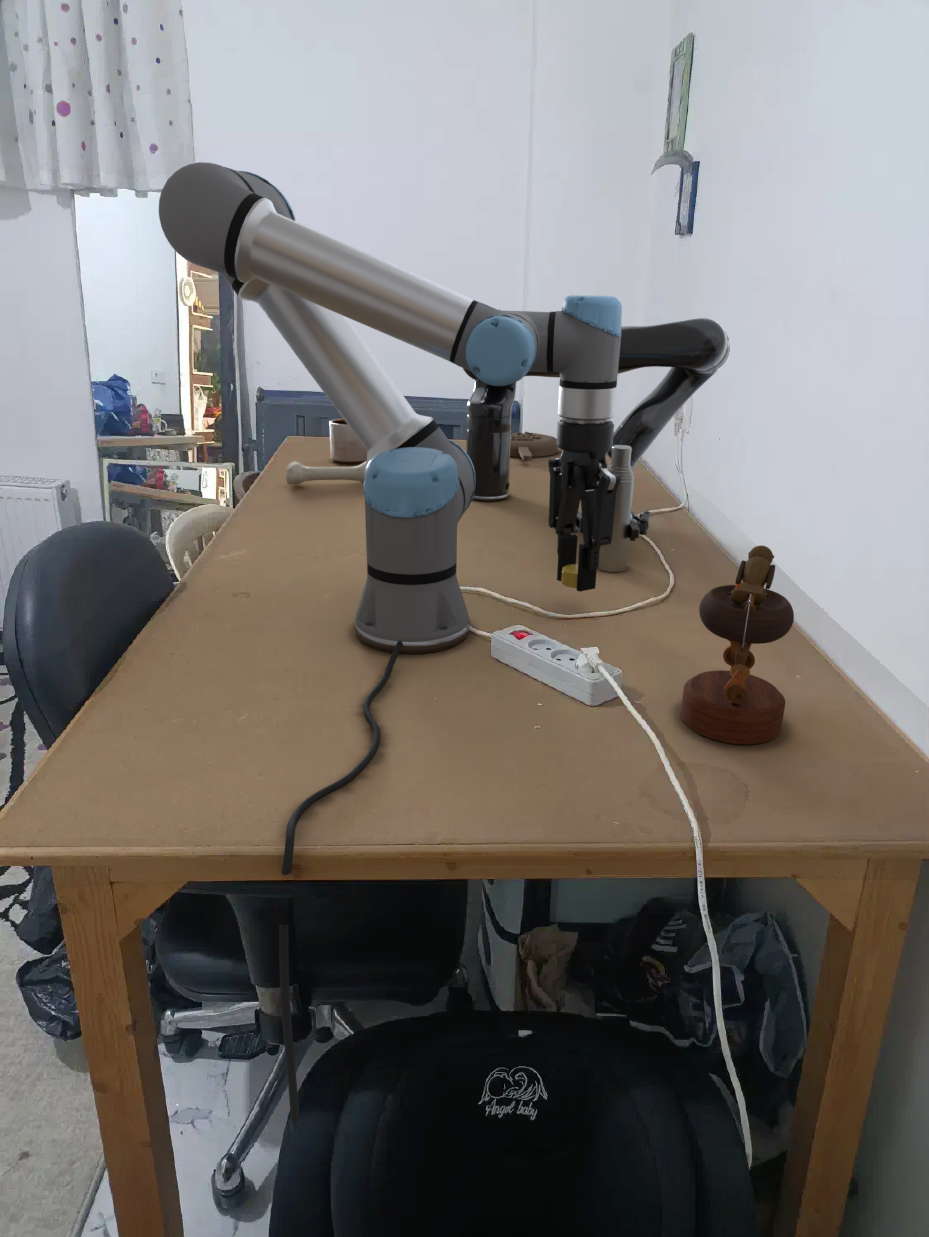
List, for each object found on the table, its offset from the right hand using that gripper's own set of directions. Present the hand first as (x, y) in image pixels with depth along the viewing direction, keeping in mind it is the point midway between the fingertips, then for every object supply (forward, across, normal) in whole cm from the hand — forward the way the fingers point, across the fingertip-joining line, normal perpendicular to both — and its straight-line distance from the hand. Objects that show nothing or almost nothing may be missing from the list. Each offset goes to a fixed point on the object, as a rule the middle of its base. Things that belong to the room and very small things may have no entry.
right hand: (617, 534), depth 134 cm
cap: (+15, -8, +1) cm, 17 cm away
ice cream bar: (-93, -13, +6) cm, 94 cm away
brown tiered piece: (+47, +7, +6) cm, 48 cm away
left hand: (+15, -8, +3) cm, 17 cm away
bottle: (-3, 0, +6) cm, 7 cm away
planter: (-82, -56, +6) cm, 100 cm away
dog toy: (-56, -56, +6) cm, 79 cm away
